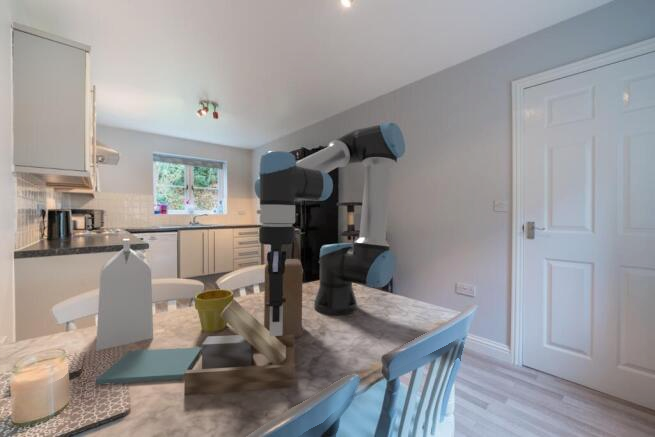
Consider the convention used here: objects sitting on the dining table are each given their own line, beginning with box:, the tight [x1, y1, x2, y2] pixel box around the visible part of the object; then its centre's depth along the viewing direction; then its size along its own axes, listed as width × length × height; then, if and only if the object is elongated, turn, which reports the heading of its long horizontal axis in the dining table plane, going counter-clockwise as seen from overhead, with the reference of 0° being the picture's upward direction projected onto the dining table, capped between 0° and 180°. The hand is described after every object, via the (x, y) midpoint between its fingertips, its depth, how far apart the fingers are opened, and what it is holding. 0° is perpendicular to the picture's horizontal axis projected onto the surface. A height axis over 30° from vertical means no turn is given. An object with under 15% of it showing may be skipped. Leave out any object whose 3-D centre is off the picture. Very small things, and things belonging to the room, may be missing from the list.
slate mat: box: [94, 346, 202, 386], centre depth 58 cm, size 16×11×1 cm
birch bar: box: [220, 298, 286, 365], centre depth 57 cm, size 16×5×2 cm
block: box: [263, 258, 304, 339], centre depth 76 cm, size 10×10×20 cm
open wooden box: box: [183, 334, 296, 396], centre depth 57 cm, size 20×14×7 cm
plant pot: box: [194, 288, 234, 333], centre depth 78 cm, size 10×10×10 cm
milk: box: [95, 238, 154, 352], centre depth 72 cm, size 12×12×26 cm
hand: (276, 334), depth 58 cm, fingers closed
